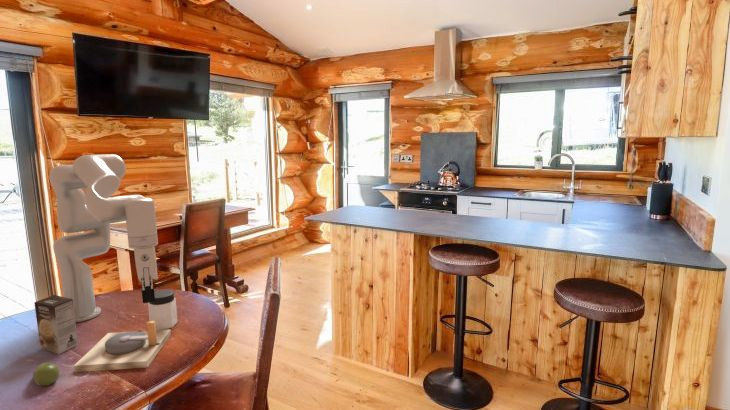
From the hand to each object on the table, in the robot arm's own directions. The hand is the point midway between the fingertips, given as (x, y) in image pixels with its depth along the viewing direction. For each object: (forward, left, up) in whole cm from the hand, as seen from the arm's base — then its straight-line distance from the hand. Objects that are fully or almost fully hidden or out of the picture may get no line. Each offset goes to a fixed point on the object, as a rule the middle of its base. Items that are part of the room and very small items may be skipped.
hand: (148, 300), depth 120 cm
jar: (-5, +24, -19) cm, 31 cm away
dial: (-9, +6, -17) cm, 20 cm away
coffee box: (-33, +12, -19) cm, 40 cm away
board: (-10, +6, -19) cm, 23 cm away
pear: (-26, -7, -20) cm, 33 cm away
